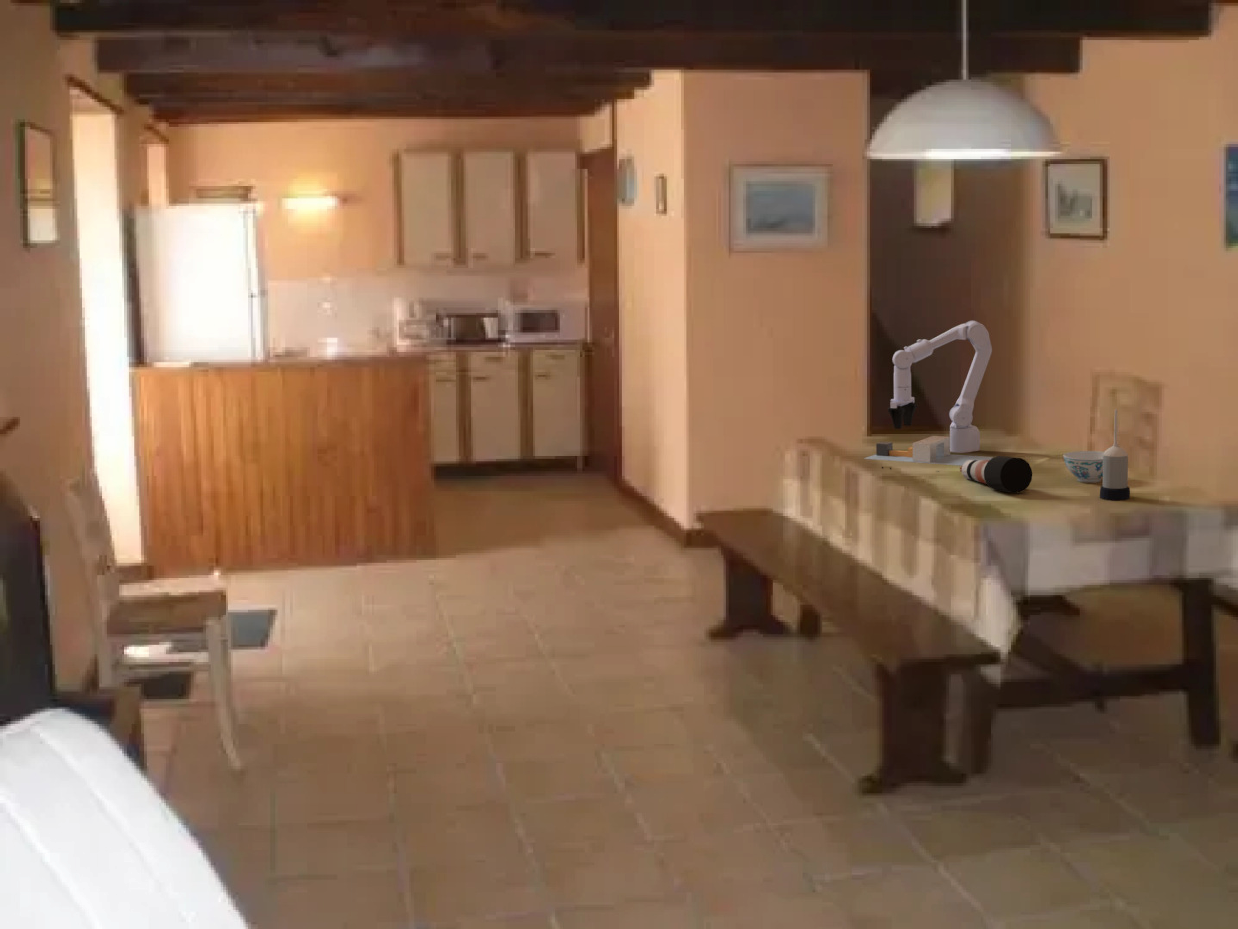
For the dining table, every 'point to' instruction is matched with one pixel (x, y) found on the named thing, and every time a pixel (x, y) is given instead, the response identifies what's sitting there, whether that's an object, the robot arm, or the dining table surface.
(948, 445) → the grey arch block
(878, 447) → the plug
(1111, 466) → the nozzle bottle
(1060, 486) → the dining table surface
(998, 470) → the striped cylinder
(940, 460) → the board
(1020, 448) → the dining table surface
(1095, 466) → the chinaware
